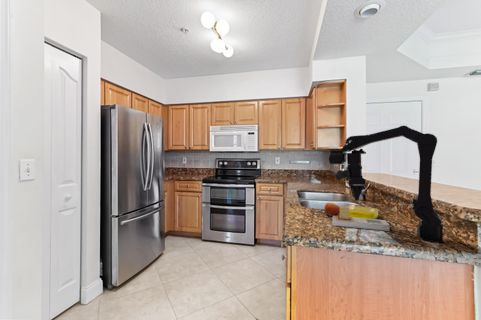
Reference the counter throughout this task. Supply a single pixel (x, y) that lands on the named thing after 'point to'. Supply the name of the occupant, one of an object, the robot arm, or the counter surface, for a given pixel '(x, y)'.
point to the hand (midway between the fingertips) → (355, 198)
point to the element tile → (362, 212)
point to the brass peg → (343, 212)
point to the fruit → (331, 209)
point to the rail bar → (362, 223)
